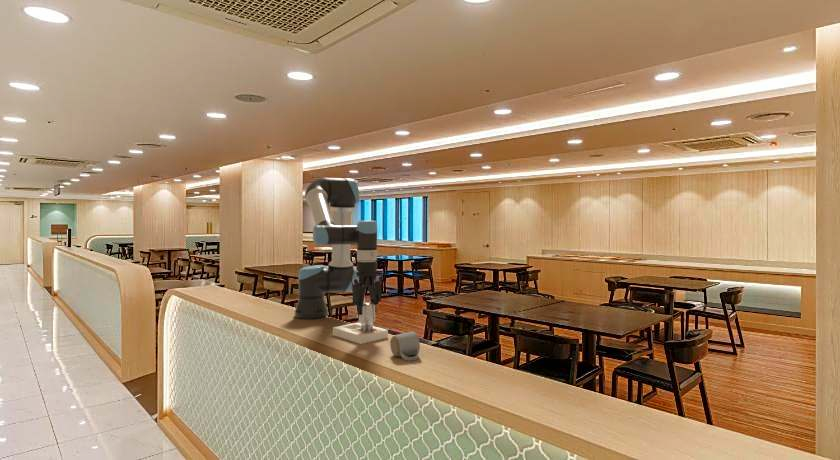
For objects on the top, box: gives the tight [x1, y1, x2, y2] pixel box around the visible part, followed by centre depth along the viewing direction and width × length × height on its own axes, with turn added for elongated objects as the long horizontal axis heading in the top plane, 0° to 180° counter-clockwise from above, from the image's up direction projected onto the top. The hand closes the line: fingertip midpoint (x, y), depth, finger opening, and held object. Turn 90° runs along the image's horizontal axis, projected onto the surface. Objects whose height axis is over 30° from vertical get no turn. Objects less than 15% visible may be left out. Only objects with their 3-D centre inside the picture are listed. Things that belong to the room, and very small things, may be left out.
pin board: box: [332, 321, 389, 345], centre depth 179 cm, size 18×13×3 cm
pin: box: [361, 302, 374, 333], centre depth 176 cm, size 4×4×11 cm
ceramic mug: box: [389, 330, 421, 362], centre depth 153 cm, size 11×8×8 cm
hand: (366, 322), depth 176 cm, fingers closed on pin, 4 cm apart
